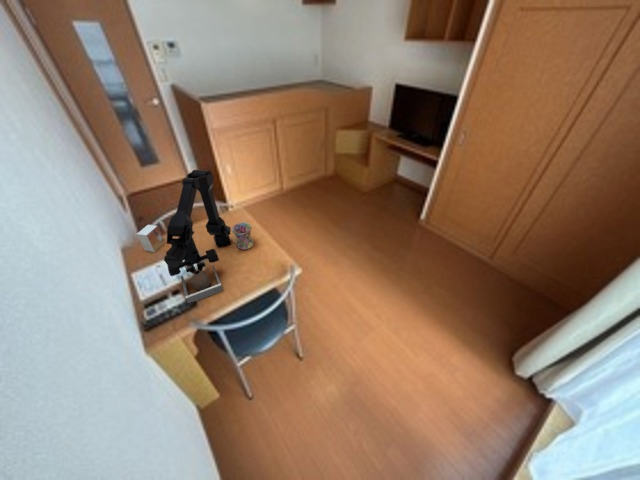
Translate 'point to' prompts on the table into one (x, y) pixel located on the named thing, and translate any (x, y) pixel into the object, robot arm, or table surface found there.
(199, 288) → the vase
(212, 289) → the bay
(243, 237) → the mug
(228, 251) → the table surface
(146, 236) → the small box
